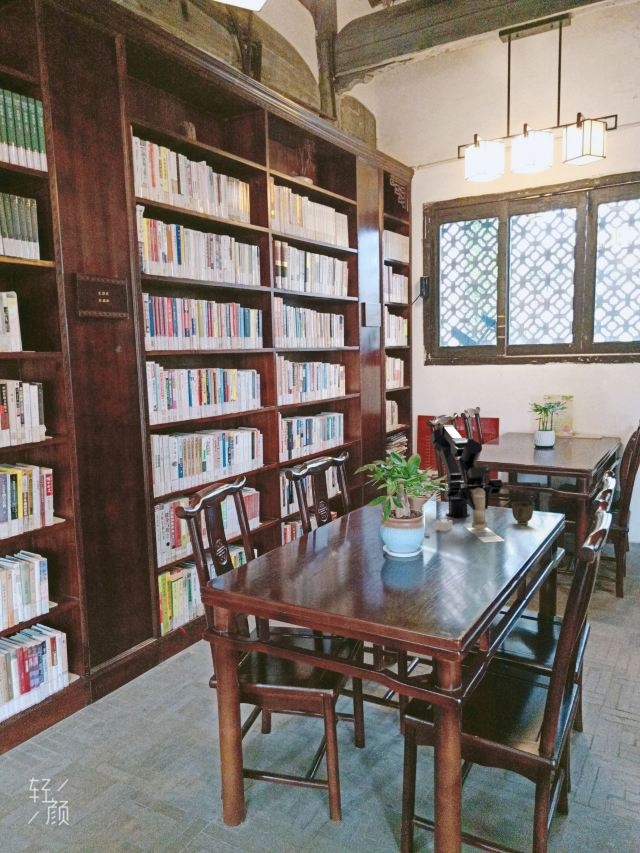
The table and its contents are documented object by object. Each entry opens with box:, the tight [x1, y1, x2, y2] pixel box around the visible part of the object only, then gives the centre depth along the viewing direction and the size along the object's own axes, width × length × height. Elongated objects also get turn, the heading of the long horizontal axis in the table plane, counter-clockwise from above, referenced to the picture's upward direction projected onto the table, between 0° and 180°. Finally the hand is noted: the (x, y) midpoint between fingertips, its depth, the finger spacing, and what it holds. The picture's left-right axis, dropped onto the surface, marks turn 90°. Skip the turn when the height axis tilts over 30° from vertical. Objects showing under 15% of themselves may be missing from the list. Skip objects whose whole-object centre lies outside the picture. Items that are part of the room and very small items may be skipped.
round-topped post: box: [471, 488, 488, 529], centre depth 205 cm, size 5×5×14 cm
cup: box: [511, 500, 535, 527], centre depth 212 cm, size 8×7×8 cm
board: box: [461, 522, 506, 543], centre depth 203 cm, size 22×7×1 cm, turn 5°
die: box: [435, 518, 453, 532], centre depth 208 cm, size 4×4×4 cm
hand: (480, 509), depth 204 cm, fingers closed on round-topped post, 4 cm apart
